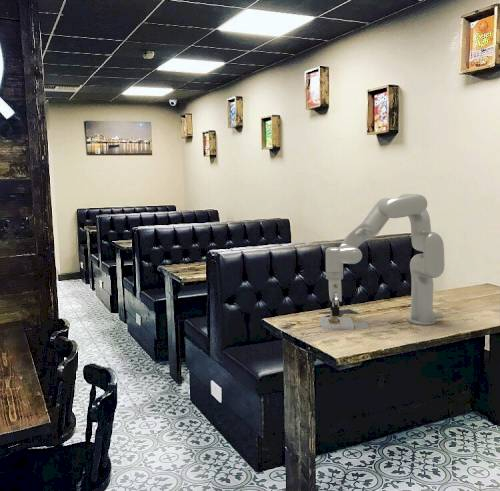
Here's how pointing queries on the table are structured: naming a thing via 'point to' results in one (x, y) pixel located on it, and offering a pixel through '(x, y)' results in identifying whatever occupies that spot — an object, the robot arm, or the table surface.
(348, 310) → the picture frame
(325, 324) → the block
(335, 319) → the peg
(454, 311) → the table surface
